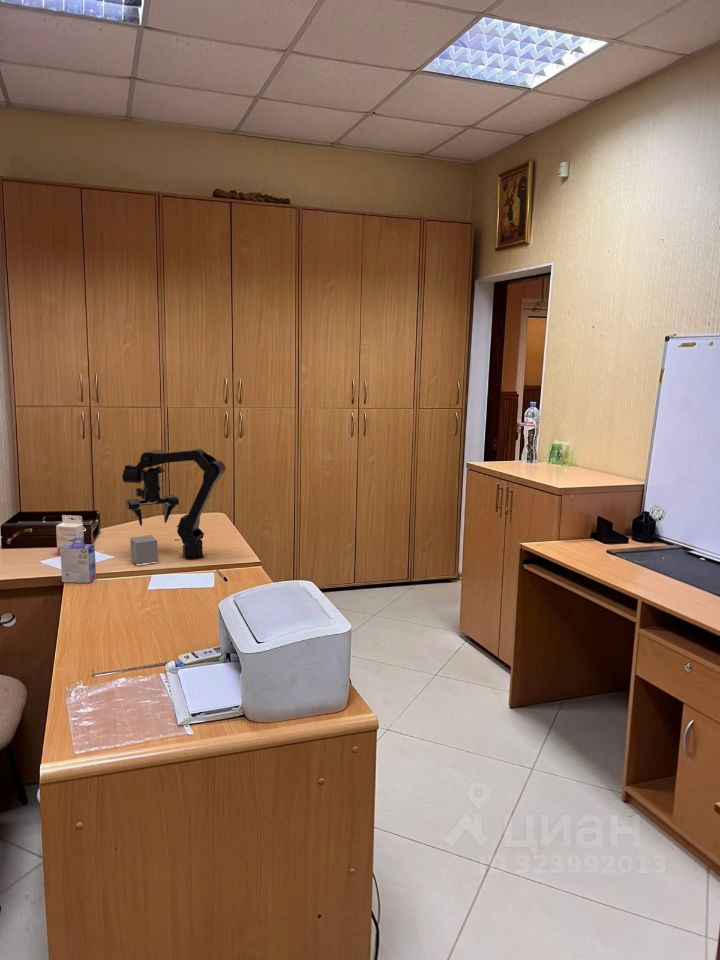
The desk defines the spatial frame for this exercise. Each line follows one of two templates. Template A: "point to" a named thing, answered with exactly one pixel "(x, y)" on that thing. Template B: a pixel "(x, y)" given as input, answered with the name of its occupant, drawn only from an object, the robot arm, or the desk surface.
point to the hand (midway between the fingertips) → (153, 524)
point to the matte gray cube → (144, 549)
